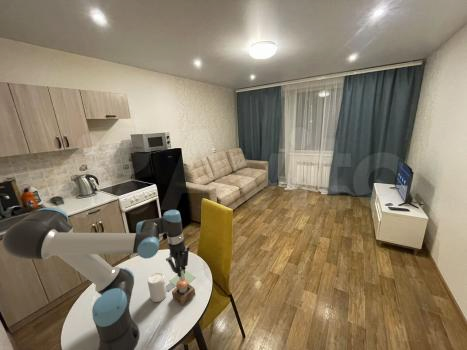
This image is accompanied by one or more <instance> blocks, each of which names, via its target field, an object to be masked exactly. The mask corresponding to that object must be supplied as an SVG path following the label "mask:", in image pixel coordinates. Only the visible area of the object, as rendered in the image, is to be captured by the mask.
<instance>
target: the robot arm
mask: <svg viewBox="0 0 467 350" xmlns="http://www.w3.org/2000/svg"><path fill="white" fill-rule="evenodd" d="M135 231H136V232H135V233H134V232H133V233H132V232H74V227H73V226H72V225H71V224H70V223H69V216H68V214H67V213H66V212H65V211H64V210H62V209H60V208H58V207H54V206H53V207H51V206H50V207H48V206H47V207H42V208H40V209H37V210H35V211H33V212H30V213H29V214H28V215H26V217H24V218H22V219H21V220H20V221H18V222H17V223H15V224H13V225H11V226H9V228H8V229H7V230H6V231H5V233H4V234H3V237H2V240H1V244H2V247H3V250H4V251H5V252H6V253H7V254H9V255H11V256H13V257H15V258H17V259H18V258H19V259H23V260H47V259H49V258H50V257H52V256H57V257H59V258H60V259H61V260H62V261H64V262H65V263H66V264H67V265H69V266H70V267H71V268H73V269H75V270H76V272H79V274H81V275H82V276H83V277H85V278H86V279H87V280H89V281H90V282H91V283H93V284H94V285H95V288H94V289H95V290H94V291H96V292H97V293H98V294H99V295H100V296H99V297H98V298H97V299H96V300H95V302H94V304H93V305H92V309H91V310H92V311H91V312H92V321H93V323H94V325H95V328H96V331H97V334H98V338H99V343H98V350H135V348H136V347H137V345H138V343H139V340H140V336H141V335H140V334H141V333H140V329H139V326H138V325H137V324H136V322H135V321H133V319H132V317H131V312H130V303H131V299H132V294H133V289H134V286H135V275H134V273H133V272H132V270H130V269H129V268H126V267H124V268H123V267H119V266H115V267H114V266H112V265H110V264H109V263H108V262H107V261H106V260H105V259H104V258H102V257H101V255H115V254H116V255H118V254H137V255H138V257H139V258H142V259H151V258H153V257H155V256H156V255H157V254H158V252H159V250H160V249H159V248H160V235H163V234H166V237H167V245H168V250H169V256H168V257H167V258H165V261H166V262H168V265H169V266H170V268H171V270H172V272H173V273H174V274H177V275H178V277H179V279H180V280H181V281H182V282H184V281H185V276H184V274H185V270H186V268H187V267H188V261H189V253H190V247H189V246H187V245H186V244H185V238H184V231H183V224H182V218H181V213H180V211H179V210H177V209H169V210H167V211H165V212H164V213H163V216H162V217H157V218H153V219H144V220H142V221H139V222H137V223H136V228H135ZM173 260H174V261H173ZM177 275H176V276H177Z"/></svg>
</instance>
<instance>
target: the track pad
mask: <svg viewBox="0 0 467 350" xmlns="http://www.w3.org/2000/svg"><path fill="white" fill-rule="evenodd" d="M175 287H176V286H175V285H174V284H173V283H171V282H169V283H168V284H167V285H166V291H167V292H168V293H169V292H170V291H171V290H174V289H175Z"/></svg>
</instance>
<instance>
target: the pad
mask: <svg viewBox="0 0 467 350" xmlns="http://www.w3.org/2000/svg"><path fill="white" fill-rule="evenodd" d="M184 276H185V279H187V280H188V284H189V285H190V283H191V282H193V281H194V280H195V279H196V278H197V277H196V276H195V275H194V274H191V273H190V272H189V271H187V270H186V269H185V274H184ZM179 280H180V279H179V277H178V275H175V276H174V277H173V278H171V279H170V280H169V283H172V284H173V285H175V287H176V288H177V286H176V283H177V282H178V281H179Z"/></svg>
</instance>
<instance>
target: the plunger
mask: <svg viewBox="0 0 467 350" xmlns="http://www.w3.org/2000/svg"><path fill="white" fill-rule="evenodd" d="M176 286H177V287H176ZM176 286H175V287H176V288H178V289H179V293H180V295H182V296H183V295H184V294H185V293H186V292H187V291H188V290H187V286H188V280H187V279H185V281H184V282H182V281H181V280H179V281H178V282H177V283H176Z"/></svg>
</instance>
